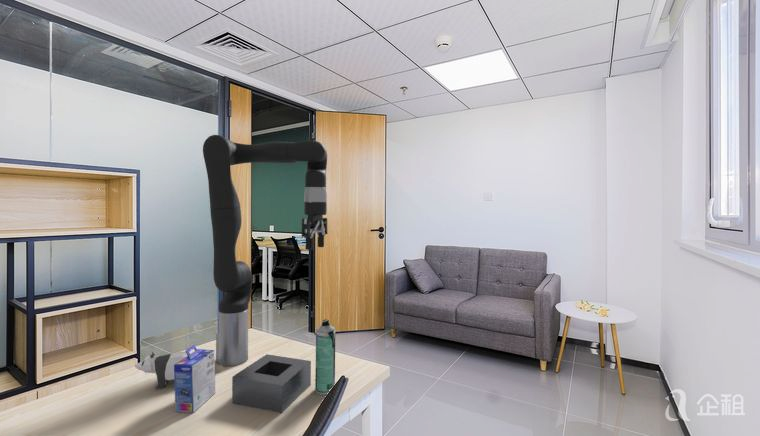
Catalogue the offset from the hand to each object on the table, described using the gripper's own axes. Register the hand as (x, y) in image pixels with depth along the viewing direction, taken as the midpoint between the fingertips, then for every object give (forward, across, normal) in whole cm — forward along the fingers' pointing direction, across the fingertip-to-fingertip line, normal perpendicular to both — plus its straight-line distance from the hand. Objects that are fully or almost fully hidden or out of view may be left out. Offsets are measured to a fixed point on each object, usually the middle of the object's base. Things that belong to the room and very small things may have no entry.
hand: (315, 248), depth 118 cm
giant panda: (+38, +29, -32) cm, 58 cm away
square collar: (+38, +24, 0) cm, 45 cm away
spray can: (+38, +18, +13) cm, 44 cm away
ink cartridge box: (+38, +34, -17) cm, 54 cm away
